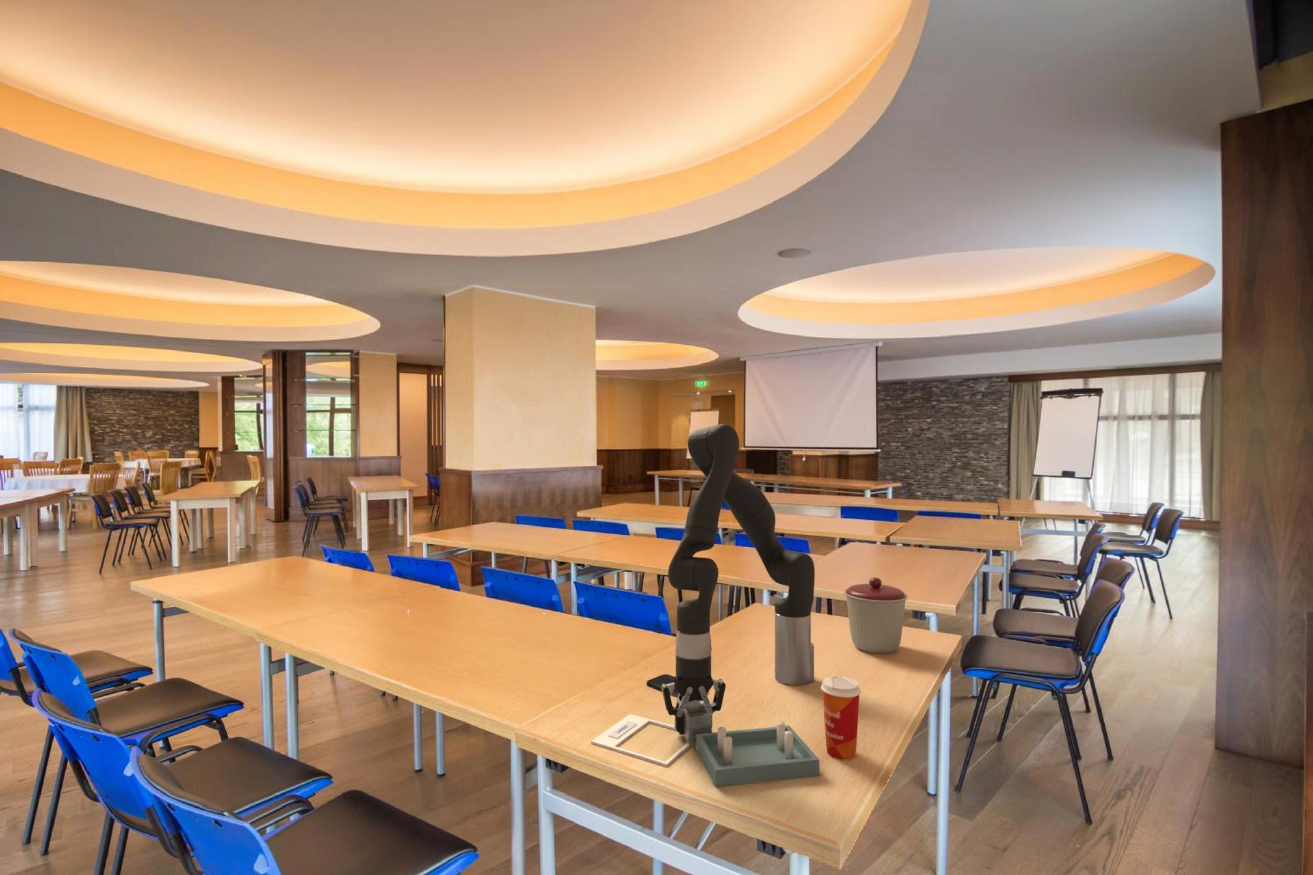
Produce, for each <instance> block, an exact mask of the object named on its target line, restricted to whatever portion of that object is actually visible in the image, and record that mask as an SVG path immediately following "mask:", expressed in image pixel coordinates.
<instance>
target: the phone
mask: <svg viewBox="0 0 1313 875" xmlns="http://www.w3.org/2000/svg"><path fill="white" fill-rule="evenodd" d="M675 677H676V676H674V675H671V674H668V673H667V674H665V673H664V674H661V675H658V676H656V677H653V678H651V679H648V680H646V686H648V687H649V688H653V689H655V690H658V691H660V692H662V689H661V685H662V684H663V683H665V684H670V683H673V682H674V679H675ZM678 695H679V693H678V691H677V690H676V688H674V689H673V694H672V695H671V696H673V697H675V698H678Z"/></svg>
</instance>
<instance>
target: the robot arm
mask: <svg viewBox="0 0 1313 875" xmlns="http://www.w3.org/2000/svg"><path fill="white" fill-rule="evenodd" d="M687 449H688V452H689V455H690V458H691V459H692V461H693V462H694V464H695V465H696V467H697V468H698V469H699V470H700V472H701V473H702V474H703V475H704V476H705V478H706V479H705V481H704V483H703V484H702V485H701V487H700V489H699V490H698V491H697V493H696V495H695V496H694V498H693V500H692V501H691V503H690V505H689V508H688V512H687V515H686V521H685V524H684V525H685V526H684V530H683V535H682V538H681V540H680V543H679V544H678V547H677V549H676V551H675V553H674V555H673V556H672V559H671V560H670V563H669V566H668V570H667V577H668V578H667V579H668V581H669V584H670V585H671V587H672V588H674V589H676V590H682V591H691V592H698V597H697V598H695V599H693V598H692V599H686V600H683V601H681V602H679V603H678V605H677V607H676V635H675V676H674V677H675V679H674V682H673V683H670V684H665V683H663V684H662V685H661V689H662V691H661V693H662V697H663V701H664V705H665V711H667V714H668V715H669V716H674V726H675V728H676V730H677V731H676V730H675V731H676V732H677V733H678V734H679V736H682V735H683V716H682V714H683V711H684V709H685V708H686V706H687V703H688V702H691V701H694V700H696V701H702V703H703V704H704V706H705V708H707V709H708V710H709V711H710V713H711V714H712V715H713V714H714V713H715V712H720V711H721V710H722V706H723V701H724V696H725V692H726V687H727V686H726V683H725V682H724V680H723V679H722V678H718V679H713V677H712V651H713V647H712V635H711V607H712V603H713V598H714V592H715V589H716V587H717V583H718V580H719V567H718V566H717V563H716V561H714V559H712V558H709V557H701V556H699V557H698V556H695V554H697V553H700V552H704V551H708V550H711V549H713V547H714V546H715V544H716V538H717V532H718V527H719V521H720V514H721V509H722V505H723V501H724V503H725V504H726V505H727V507H728V508H729V510H730V512H731V514H732V515H733V517H734V518H735V520H736V521H737V523H738V525H739V526H740V528H741V530H743V532H744V533H745V535H746V536H747V538H748V539H749V541H750V543H751V544H752V545H753V547H754V549H755V550H756V552H757V554H758V556H759V558H760V560H761V561H762V564H763V566H764V568H765V570H766V572H767V573H768V575H769V577H770V578H771V580H772V581H774V582H775V583H776V584H778V585H782V586H785V587H788V591H787V592H788V594H787V596H786V597H783V598H779V599H777V600H775V602H774V679H775V680H776V681H777V682H779V683H782V684H786V685H789V686H790V685H791V686H803V685H808V684H809V683H812V682H813V683H814V682H815V645H814V643H812V618H811V617H812V605H813V604H814V598H815V596H814V595H815V579H816V578H815V577H816V571H815V563H814V560H813V558H812V557H811V555H810V554H808V553H805V552H802V551H801V552H800V551H795V550H789V549H787V548H785V547H784V545H782V543H781V541H780V540H779V538H778V537H777V535H776V532H775V531H776V514H775V511H774V508H773V507H772V505H771V503H770V502H769V500H768V498H767V497H766V496H765V494H764V492H763V491H762V490H761V489H760V488H759V487H758V486H756V485H755V484H753V483H752V482H750V481H749V480H747V479H746V478H744V477H742V476H741V475H739V474H737V473H736V472H734V469H735V467H736V463H737V460H738V458H739V457H738V456H739V452H740V438H739V435H738V432H737V431H736V429H735V428H734V427H733V426H731V425H730V424H728V423H722V424H716V425H712V426H708V427H704V428H700V429H696V430H694V431H692V432H691V433H690V434H689V436H688V438H687ZM712 687H713V689H714V695H713V700H712V703H711V702H710V699H709V697H708V694H709V692H710V690H711V689H712ZM674 688H676V690H677V691H678V693H679V695H678V697H676V699H677V703H676V702H675V706H673V702H672V698H671V696H673V695H672V694H673V689H674Z"/></svg>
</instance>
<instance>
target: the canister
mask: <svg viewBox="0 0 1313 875" xmlns="http://www.w3.org/2000/svg"><path fill="white" fill-rule="evenodd" d="M843 594H844V595H845V596H846V598H845V599H846V604H847V605H846V606H847V614H848V623H849V624H848V625H849V630H850V636H851V640H852V643H853V645H854V646H855V647H856V648H858V649H859V650H861V651H864V652H867V653H873V654H890V653H893V652H896V651H897V650H898V648H899V647H900V645H901V641H902V635H903V627H904V618H905V610H906V608H905V607H906V601H907V599H908V598H909V595H908V594H907V593H905V592H904V591H903V590H902V589H901V588H898V587H895V586H890V585H886V584H883V582H882V579H880V578H879V577H871V578H870V579H869V581H868V583H859V584H858V583H857V584H854V585H851V586H849V587H847V588H846V589H844V590H843Z"/></svg>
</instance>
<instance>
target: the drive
mask: <svg viewBox="0 0 1313 875" xmlns="http://www.w3.org/2000/svg"><path fill="white" fill-rule="evenodd" d="M675 700H676V702H675V704H676V703H677V698H676V699H675ZM682 716H683V735H681V736H682V738H683V740H684V741H685V744H686V743H687V742H688V744H690V747H696V734H704V733H713V714H711V713H710V711H709V710H708V709H707V708H705V706H704V704H703V703H702V701H696V700H694V701H691V702H688V703H687V706H686V708H685V709H684V711H683V714H682Z"/></svg>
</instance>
